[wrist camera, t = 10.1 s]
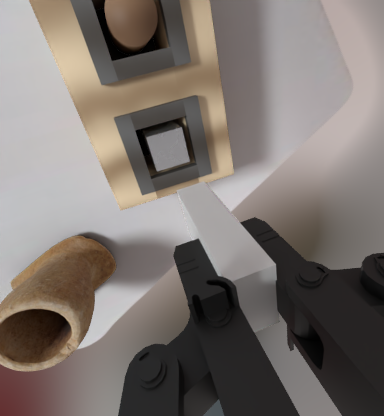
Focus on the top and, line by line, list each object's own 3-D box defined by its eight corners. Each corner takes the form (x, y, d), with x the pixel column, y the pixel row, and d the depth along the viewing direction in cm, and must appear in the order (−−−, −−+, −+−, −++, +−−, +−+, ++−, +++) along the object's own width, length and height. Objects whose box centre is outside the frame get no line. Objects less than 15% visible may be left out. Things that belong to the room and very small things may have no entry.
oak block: (37, -17, 23) (-3, -66, 16) (175, -45, 25) (200, -101, 17) (120, 184, 34) (120, 214, 27) (212, 156, 36) (237, 176, 28)
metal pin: (139, 123, 31) (146, 137, 23) (166, 115, 31) (181, 127, 24) (148, 150, 33) (157, 171, 25) (173, 142, 33) (189, 161, 26)
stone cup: (70, 212, 34) (42, 291, 22) (126, 260, 41) (129, 343, 28) (-11, 272, 35) (-85, 382, 23) (55, 310, 41) (26, 414, 29)
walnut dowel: (102, 15, 25) (95, -14, 18) (139, 7, 26) (148, -25, 18) (116, 59, 27) (116, 50, 20) (151, 50, 28) (163, 39, 20)
